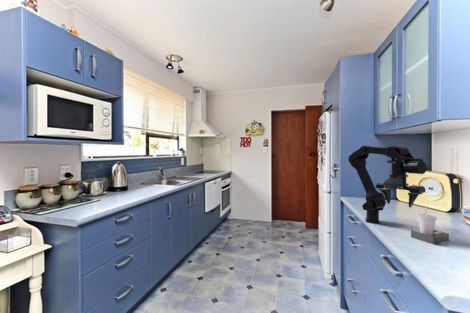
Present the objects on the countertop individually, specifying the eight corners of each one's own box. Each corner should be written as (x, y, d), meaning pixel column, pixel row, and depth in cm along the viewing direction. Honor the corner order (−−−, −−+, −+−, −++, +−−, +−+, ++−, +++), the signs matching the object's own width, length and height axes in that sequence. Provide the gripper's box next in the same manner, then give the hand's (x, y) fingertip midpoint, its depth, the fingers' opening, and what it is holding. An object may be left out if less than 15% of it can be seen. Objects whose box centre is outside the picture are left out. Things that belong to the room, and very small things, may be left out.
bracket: (410, 236, 98) (411, 228, 98) (424, 233, 102) (424, 224, 102) (435, 244, 90) (435, 235, 90) (448, 240, 94) (448, 231, 94)
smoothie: (413, 234, 100) (414, 204, 100) (429, 235, 99) (430, 204, 99) (422, 240, 94) (423, 207, 94) (440, 241, 93) (441, 208, 93)
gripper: (368, 171, 110) (368, 203, 110) (411, 174, 93) (412, 211, 93) (382, 171, 115) (382, 201, 115) (426, 173, 98) (426, 208, 98)
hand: (398, 205), depth 105 cm, fingers open, 9 cm apart
